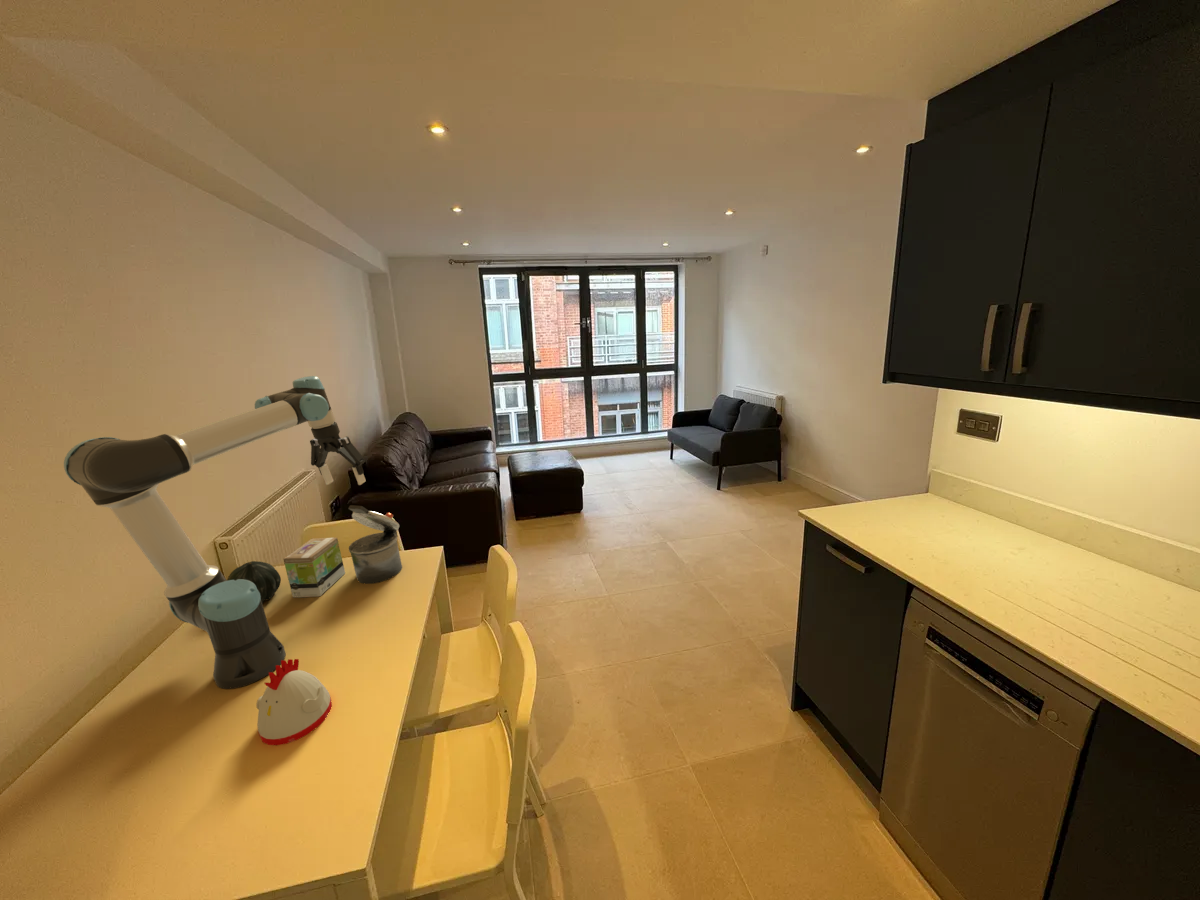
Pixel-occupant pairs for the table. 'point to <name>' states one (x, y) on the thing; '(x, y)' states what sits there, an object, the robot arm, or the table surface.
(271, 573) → the squash
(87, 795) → the table surface
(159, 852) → the table surface
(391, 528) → the lid
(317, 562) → the tea box
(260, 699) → the kitchen timer
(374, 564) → the pot
